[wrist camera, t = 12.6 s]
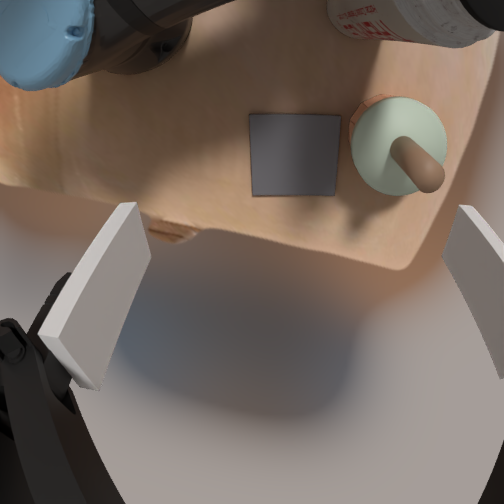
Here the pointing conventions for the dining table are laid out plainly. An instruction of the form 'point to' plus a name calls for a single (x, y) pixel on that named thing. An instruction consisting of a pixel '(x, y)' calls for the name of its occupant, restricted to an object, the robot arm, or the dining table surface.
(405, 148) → the lid
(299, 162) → the mat
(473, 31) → the thermos bottle
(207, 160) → the dining table surface
